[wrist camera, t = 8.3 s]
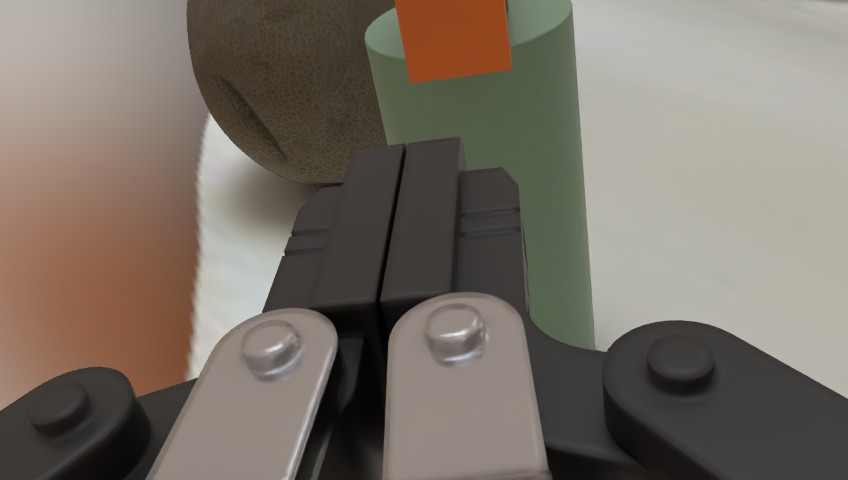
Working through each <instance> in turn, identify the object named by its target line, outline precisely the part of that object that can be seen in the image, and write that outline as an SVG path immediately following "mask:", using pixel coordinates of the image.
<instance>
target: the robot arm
mask: <svg viewBox="0 0 848 480" xmlns="http://www.w3.org/2000/svg"><path fill="white" fill-rule="evenodd" d="M291 234H292V237H289V240H288V243H287V245H286V248H285V251H284V252H285V256H282V259H281V262H280V265H279V267H278V270H277V273H276V276H275V278H274V281H273V284H272V287H271V289H270V292H269V295H268V297H267V300H266V303H265V306H264V308H263V311H262V314H259V315H257V316H255V317H252V318H250V319H248V320H246V321H244V322H242V323H241V324H239V325H237V326H236V327H235V328H233V329H232V330H230V331H229V332H228V333H227V334H226V335H225V336H224V337H223V338H222V339H221V340H220V341H219V342H218V343H217V344H216V346H215V348H214V349H213V351H212V352H211V354H210V356H209V358H208V360H207V362H206V364H205V366H204V368H203V370H202V372H201V373H200V375H199V377H198V378H195V379H193V380H190V381H187V382H184V383H181V384H178V385H175V386H171V387H169V388H165V389H162V390H159V391H156V392H152V393H149V394H146V395H143V396H140V397H137V395H136V393H135V391H134V390H133V388H132V386H131V384H130V382H129V380H128V378H127V377H126V376H125V375H124V374H122V373H121V372H119V371H117V370H114V369H111V368H104V367H90V368H84V369H79V370H75V371H71V372H68V373H65V374H62V375H60V376H57V377H55V378H53V379H51V380H49V381H47V382H45V383H43V384H42V385H40V386H38V387H36V388H35V389H33V390H32V391H30V392H29V393H27V394H25V395H24V396H22V397H21V398H19V399H18V400H16V401H15V402H14V403H12V404H10V405H9V406H7V407H6V408H4V409H3V410H1V411H0V480H848V399H847V398H845V397H843V396H842V395H840V394H838V393H836V392H835V391H833V390H831V389H829V388H827V387H826V386H824V385H822V384H820V383H818V382H817V381H815V380H813V379H811V378H810V377H808V376H806V375H804V374H802V373H801V372H799V371H797V370H795V369H793V368H792V367H790V366H788V365H786V364H784V363H783V362H781V361H779V360H777V359H776V358H774V357H772V356H770V355H768V354H767V353H765V352H763V351H761V350H759V349H758V348H756V347H754V346H752V345H750V344H749V343H747V342H745V341H743V340H742V339H740V338H738V337H736V336H734V335H733V334H731V333H729V332H726V331H724V330H722V329H720V328H717V327H714V326H711V325H708V324H703V323H698V322H692V321H682V320H680V321H661V322H655V323H650V324H646V325H643V326H640V327H638V328H635V329H633V330H631V331H629V332H627V333H626V334H624V335H622V336H621V337H620V338H619V339H617V340H616V341H615V342H614V343H613V344H612V346H611V347H610V348H609V349H608V351H607V352H602V351H596V350H590V349H584V348H579V347H575V346H571V345H568V344H565V343H562V342H560V341H558V340H556V339H554V338H552V337H550V336H549V335H547V334H546V333H544V332H543V331H542V330H541V329H539V328H538V327H537V326H536V325H535V323H534V322H533V321H532V308H531V294H530V279H529V269H528V261H527V252H526V244H525V236H524V227H523V219H522V211H521V203H520V194H519V186H518V184H517V183H516V182H515V181H514V180H513V179H512V177H511V176H510V175H509V174H508V173H507V172H506V171H505V170H504V169H503V168H502V167H497V168H488V169H480V170H471V171H468V168H467V162H466V155H465V150H464V145H463V141H462V138H461V136H459V137H451V138H443V139H435V140H427V141H418V142H410V143H409V144H408V146H407V144H406V143H403V144H395V145H387V146H379V147H371V148H362V149H355V150H354V151H353V152H352V155H351V159H350V162H349V165H348V169H347V172H346V176H345V179H344V182H343V186H334V187H325V188H321V189H320V190H319V191H318V192H317V193H316V194H315V195H314V196H313V197H312V198H311V199H310V200H309V201H308V202H307V203H306V204H305V205H304V206H303V207H302V208H301V209H300V210H299V212H298V215H297V218H296V221H295V223H294V226H293V229H292V232H291Z"/></svg>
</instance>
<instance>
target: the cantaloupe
mask: <svg viewBox="0 0 848 480" xmlns="http://www.w3.org/2000/svg"><path fill="white" fill-rule="evenodd" d="M395 7H396V6H395V1H394V0H188V2H187V30H188V41H189V49H190V54H191V60H192V66H193V70H194V74H195V77H196V80H197V83H198V86H199V89H200V91H201V94H202V96H203V98H204V100H205V102H206V104H207V107H208V109H209V111H210V113H211V114H212V116H213V118H214V119H215V121H216V122H217V124H218V125H219V126H220V128H221V129H222V130H223V131H224V133H225V134H226V135H227V136H228V137H229V138H230V140H231V141H232V142H233V143H234V144H235V145H236V146H237V147H238V148H239V149H240V150H242V151H243V152H244V153H245V154H246V155H248V156H249V157H250V158H251V159H252V160H254V161H255V162H256V163H258V164H259V165H261V166H262V167H264V168H266V169H267V170H269V171H271V172H273V173H275V174H277V175H279V176H281V177H283V178H286V179H288V180H291V181H294V182H298V183H302V184H320V183H343V182H344V179H345V176H346V172H347V169H348V165H349V162H350V159H351V155H352V152H353V151H354V150H355V149H362V148H371V147H379V146H387V145H388V144H387V140H386V135H385V130H384V126H383V121H382V117H381V112H380V108H379V103H378V98H377V94H376V89H375V85H374V80H373V76H372V71H371V66H370V62H369V57H368V53H367V48H366V43H365V39H364V38H365V32H366V30H367V28H368V27H369V26H370V25H371V23H372V22H373V21H375V20H376V19H377V18H378V17H380V16H381V15H383V14H384V13H386V12H388V11H389V10H391V9H393V8H395Z"/></svg>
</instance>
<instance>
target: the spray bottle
mask: <svg viewBox="0 0 848 480" xmlns="http://www.w3.org/2000/svg"><path fill="white" fill-rule="evenodd" d="M505 6H506V14H507V23H508V32H509V41H510V49H511V64H512V69H511V70H507V71H499V72H492V73H484V74H477V75H469V76H462V77H454V78H447V79H440V80H432V81H425V82H417V83H411V82H410V79H409V74H408V69H407V64H406V58H405V53H404V48H403V43H402V38H401V32H400V27H399V22H398V17H397V11H396V7H395V8H393V9H391V10H389V11H388V12H386V13H384V14H383V15H381V16H380V17H378V18H377V19H376V20H375V21H373V22H372V23H371V25H370V26H369V27H368V28H367V30H366V32H365V38H364V39H365V43H366V48H367V53H368V57H369V62H370V66H371V71H372V76H373V80H374V85H375V89H376V94H377V98H378V103H379V108H380V112H381V117H382V121H383V126H384V130H385V135H386V140H387V144H388V145H395V144H403V143H406V144H407V146H408V144H409V143H410V142H418V141H427V140H435V139H443V138H451V137H459V136H461V138H462V141H463V145H464V150H465V155H466V162H467V168H468V171H471V170H480V169H488V168H497V167H502V168H503V169H504V170H505V171H506V172H507V173H508V174H509V175H510V176H511V177H512V179H513V180H514V181H515V182H516V183H517V184H518V186H519V194H520V203H521V211H522V219H523V227H524V236H525V244H526V252H527V261H528V269H529V279H530V294H531V308H532V321H533V322H534V323H535V325H536V326H537V327H538V328H539V329H541V330H542V331H543V332H544V333H546V334H547V335H549V336H550V337H552V338H554V339H556V340H558V341H560V342H562V343H565V344H568V345H571V346H575V347H579V348H584V349H590V350H595V335H594V320H593V306H592V291H591V276H590V262H589V247H588V232H587V218H586V203H585V188H584V173H583V159H582V144H581V129H580V115H579V100H578V85H577V71H576V56H575V41H574V27H573V12H572V3H571V1H570V0H505Z"/></svg>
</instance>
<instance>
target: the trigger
mask: <svg viewBox="0 0 848 480" xmlns="http://www.w3.org/2000/svg"><path fill="white" fill-rule="evenodd" d="M394 1H395V6H396V11H397V17H398V22H399V27H400V32H401V38H402V43H403V48H404V53H405V58H406V64H407V69H408V74H409V79H410V82H411V83H417V82H425V81H432V80H440V79H447V78H454V77H462V76H469V75H477V74H484V73H492V72H499V71H507V70H511V69H512V64H511V49H510V41H509V32H508V23H507V14H506V6H505V0H394Z"/></svg>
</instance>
